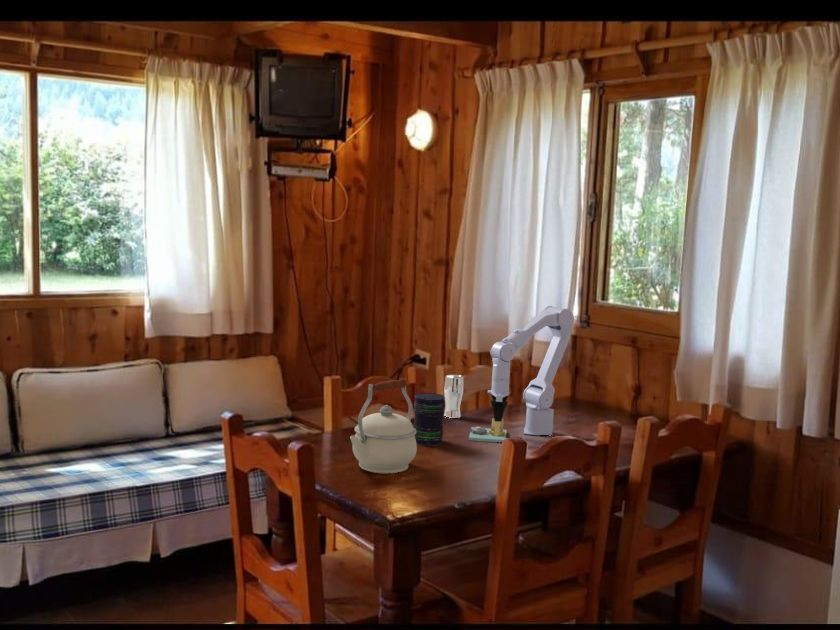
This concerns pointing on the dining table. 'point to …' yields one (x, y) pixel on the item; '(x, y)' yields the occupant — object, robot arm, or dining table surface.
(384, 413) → the kettle
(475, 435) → the carrier plate
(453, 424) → the dining table surface
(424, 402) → the storage jar
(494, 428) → the planet gear
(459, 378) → the beer glass
